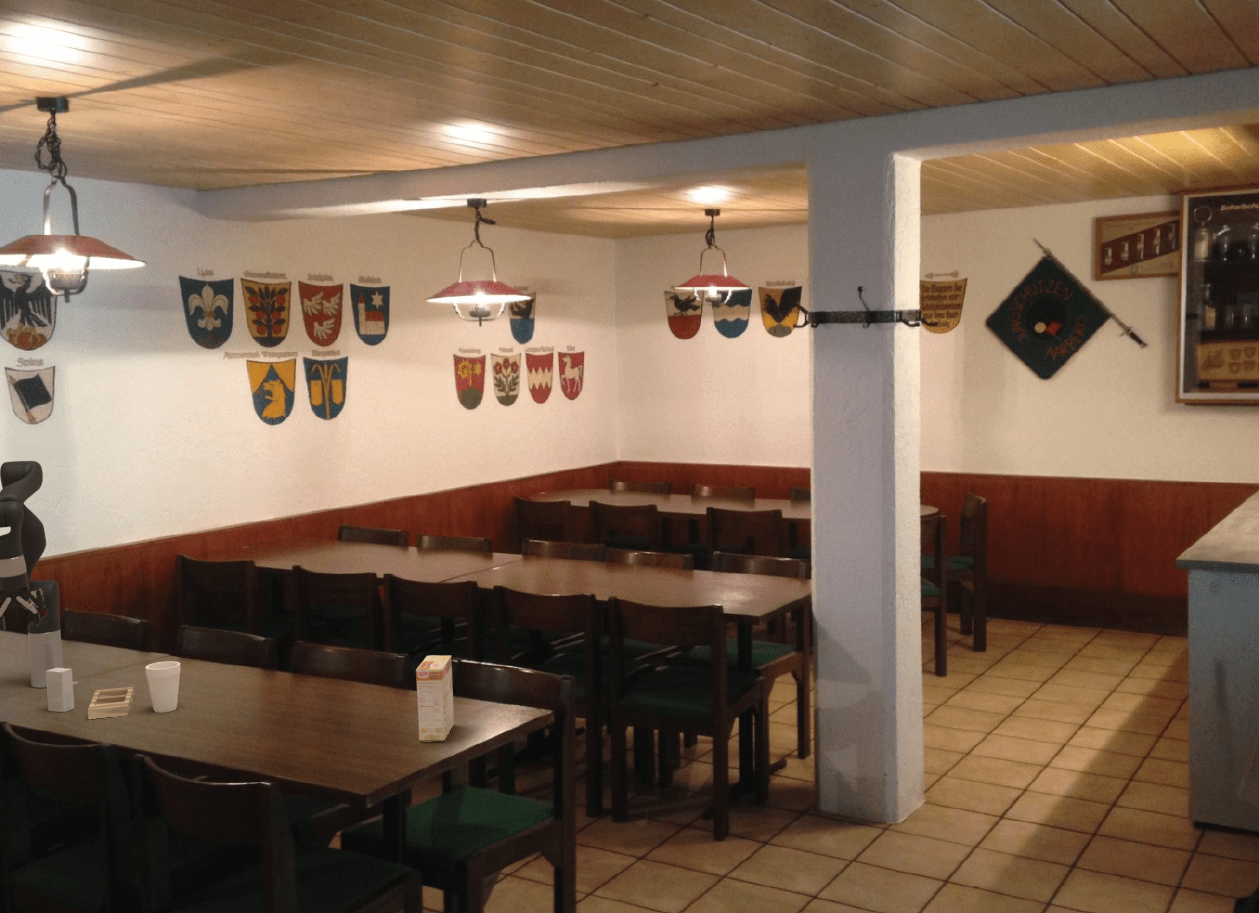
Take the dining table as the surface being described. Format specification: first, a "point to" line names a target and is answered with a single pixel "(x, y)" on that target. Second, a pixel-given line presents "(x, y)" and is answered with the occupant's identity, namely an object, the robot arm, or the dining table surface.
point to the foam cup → (163, 685)
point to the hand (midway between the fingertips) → (20, 627)
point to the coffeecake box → (435, 697)
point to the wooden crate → (111, 703)
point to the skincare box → (60, 689)
